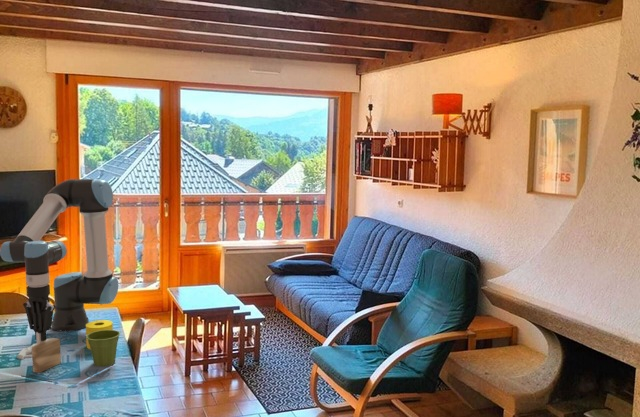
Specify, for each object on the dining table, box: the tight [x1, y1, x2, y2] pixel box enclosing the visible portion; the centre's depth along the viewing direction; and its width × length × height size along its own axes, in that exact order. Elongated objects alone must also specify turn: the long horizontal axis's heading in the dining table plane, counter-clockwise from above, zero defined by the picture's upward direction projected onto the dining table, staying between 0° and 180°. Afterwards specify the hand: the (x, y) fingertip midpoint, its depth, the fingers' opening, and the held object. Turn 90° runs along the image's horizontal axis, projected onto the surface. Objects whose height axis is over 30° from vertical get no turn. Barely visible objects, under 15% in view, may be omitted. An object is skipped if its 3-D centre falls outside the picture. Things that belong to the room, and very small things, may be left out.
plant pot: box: [85, 329, 121, 367], centre depth 225 cm, size 12×12×11 cm
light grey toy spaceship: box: [16, 338, 51, 360], centre depth 237 cm, size 18×4×10 cm
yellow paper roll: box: [85, 319, 114, 350], centre depth 243 cm, size 10×10×9 cm
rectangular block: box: [31, 337, 62, 374], centre depth 220 cm, size 3×10×9 cm, turn 159°
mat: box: [20, 375, 54, 383], centre depth 219 cm, size 16×14×1 cm
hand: (41, 349), depth 221 cm, fingers closed
